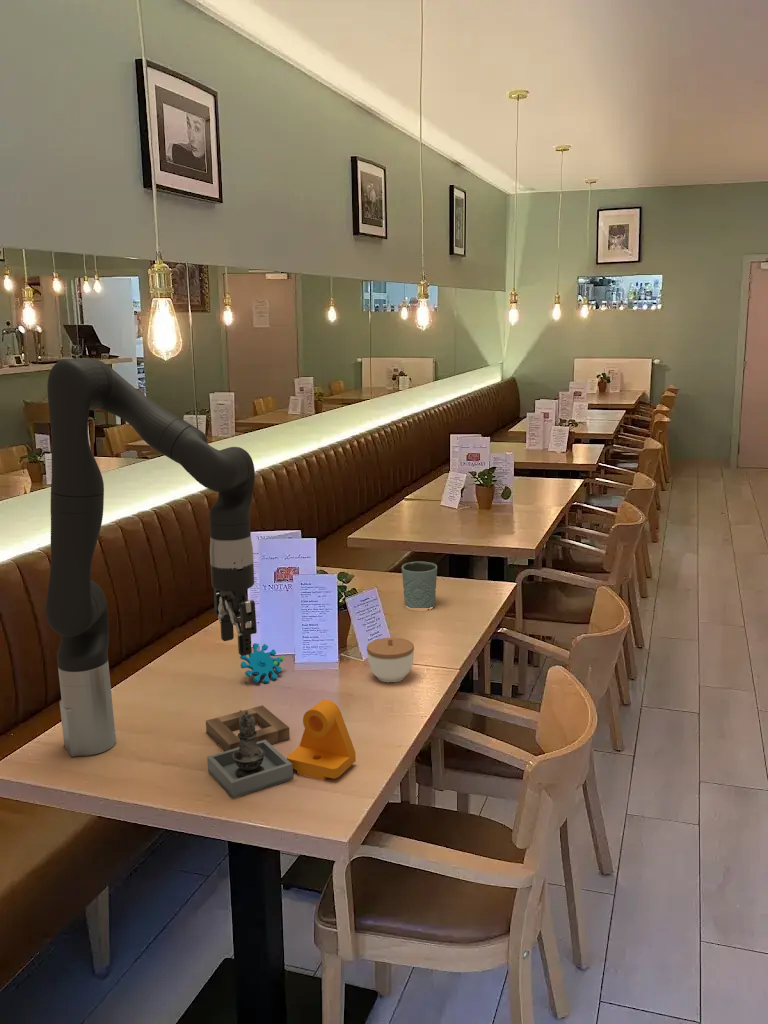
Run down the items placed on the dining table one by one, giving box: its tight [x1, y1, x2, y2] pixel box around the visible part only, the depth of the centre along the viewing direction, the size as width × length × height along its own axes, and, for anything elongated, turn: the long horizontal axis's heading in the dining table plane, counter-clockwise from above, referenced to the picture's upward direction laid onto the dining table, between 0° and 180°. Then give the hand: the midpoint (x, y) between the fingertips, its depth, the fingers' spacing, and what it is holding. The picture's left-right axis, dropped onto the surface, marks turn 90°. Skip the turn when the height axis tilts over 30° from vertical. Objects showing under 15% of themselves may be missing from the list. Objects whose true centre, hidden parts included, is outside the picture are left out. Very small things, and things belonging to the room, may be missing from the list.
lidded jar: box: [366, 637, 415, 684], centre depth 203 cm, size 11×11×9 cm
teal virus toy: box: [239, 642, 285, 684], centre depth 206 cm, size 11×6×10 cm
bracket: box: [286, 699, 357, 781], centre depth 162 cm, size 11×7×12 cm, turn 63°
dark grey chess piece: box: [232, 711, 265, 778], centre depth 160 cm, size 6×6×12 cm
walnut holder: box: [205, 704, 291, 752], centre depth 177 cm, size 12×12×2 cm
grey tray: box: [206, 740, 294, 800], centre depth 161 cm, size 12×12×3 cm
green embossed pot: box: [401, 561, 438, 608], centre depth 252 cm, size 10×10×12 cm
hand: (236, 647), depth 161 cm, fingers open, 8 cm apart
